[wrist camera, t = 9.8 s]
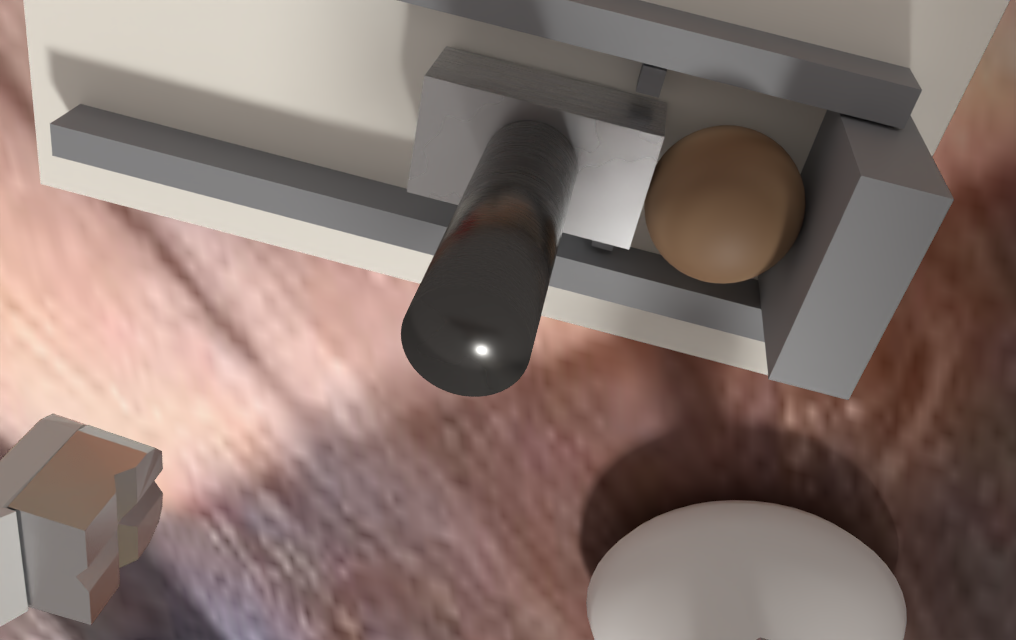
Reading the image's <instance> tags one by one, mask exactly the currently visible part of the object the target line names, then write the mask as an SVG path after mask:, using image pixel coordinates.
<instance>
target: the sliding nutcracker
mask: <svg viewBox="0 0 1016 640" xmlns="http://www.w3.org/2000/svg"><path fill="white" fill-rule="evenodd" d="M1009 1H1010V0H24V11H25V21H26V32H27V43H28V53H29V64H30V75H31V85H32V96H33V106H34V117H35V128H36V138H37V149H38V160H39V170H40V181H41V184H43V185H47V186H51V187H54V188H58V189H62V190H66V191H70V192H73V193H77V194H81V195H85V196H89V197H92V198H96V199H100V200H104V201H108V202H111V203H115V204H119V205H123V206H127V207H130V208H134V209H138V210H142V211H146V212H149V213H153V214H157V215H161V216H165V217H168V218H172V219H176V220H180V221H184V222H187V223H191V224H195V225H199V226H203V227H206V228H210V229H214V230H218V231H222V232H226V233H229V234H233V235H237V236H241V237H245V238H248V239H252V240H256V241H260V242H264V243H267V244H271V245H275V246H279V247H283V248H286V249H290V250H294V251H298V252H302V253H305V254H309V255H313V256H317V257H321V258H324V259H328V260H332V261H336V262H340V263H343V264H347V265H351V266H355V267H359V268H362V269H366V270H370V271H374V272H378V273H381V274H385V275H389V276H393V277H397V278H400V279H404V280H408V281H412V282H416V283H419V284H420V283H421V281H422V279H423V277H424V275H425V273H426V271H427V269H428V267H429V265H430V263H431V261H432V258H433V256H434V254H435V252H436V250H437V248H438V246H439V244H440V242H441V240H442V238H443V235H444V233H445V231H446V229H447V227H448V225H449V223H450V221H451V219H452V217H453V215H454V213H455V210H456V208H457V206H458V205H456V204H452V203H448V202H444V201H440V200H436V199H433V198H429V197H425V196H421V195H417V194H413V193H409V192H407V186H408V179H409V173H410V166H411V160H412V153H413V147H414V140H415V134H416V127H417V120H418V114H419V107H420V101H421V94H422V88H423V81H424V76H425V74H426V73H427V71H428V70H429V69H430V67H431V66H432V65H433V63H434V62H435V61H436V59H437V58H438V57H439V55H440V54H441V52H442V51H443V50H444V48H445V47H446V46H448V47H451V48H455V49H459V50H463V51H467V52H471V53H475V54H479V55H483V56H487V57H491V58H495V59H498V60H502V61H506V62H510V63H514V64H518V65H522V66H526V67H530V68H534V69H538V70H542V71H545V72H549V73H553V74H557V75H561V76H565V77H569V78H573V79H577V80H581V81H585V82H589V83H592V84H596V85H600V86H604V87H608V88H612V89H616V90H620V91H624V92H628V93H632V94H636V95H639V96H643V97H647V98H651V99H655V100H659V101H663V102H667V113H666V126H665V138H664V141H663V144H662V147H661V150H660V153H659V157H658V160H657V163H658V161H659V160H660V158H661V157H662V156H663V154H664V153H665V152H666V151H667V150H668V149H669V148H670V147H671V146H673V145H674V144H675V143H676V142H677V141H679V140H680V139H682V138H684V137H685V136H687V135H689V134H691V133H693V132H695V131H698V130H701V129H704V128H708V127H712V126H720V125H735V126H742V127H746V128H750V129H753V130H756V131H758V132H761V133H763V134H765V135H766V136H768V137H770V138H771V139H773V140H774V141H775V142H777V143H778V144H779V145H780V146H782V147H783V148H784V150H785V151H786V152H787V153H788V154H789V155H790V157H791V158H792V160H793V161H794V163H795V164H796V166H797V168H798V170H799V173H800V175H801V178H802V181H803V185H804V190H805V214H804V219H803V223H802V227H801V230H800V232H799V235H798V237H797V239H796V240H795V242H794V244H793V245H792V247H791V248H790V250H789V251H788V253H787V254H786V255H785V256H784V257H783V258H782V259H781V260H780V261H779V262H778V263H777V264H776V265H774V266H773V267H772V268H770V269H769V270H767V271H765V272H764V273H762V274H760V275H758V276H756V277H753V278H751V279H748V280H745V281H740V282H735V283H709V282H705V281H701V280H698V279H695V278H692V277H690V276H687V275H686V274H684V273H682V272H680V271H679V270H677V269H676V268H675V267H673V266H672V265H671V264H670V263H669V262H668V261H667V260H665V259H664V257H663V256H662V255H661V254H660V252H659V251H658V250H657V248H656V247H655V245H654V243H653V241H652V239H651V237H650V234H649V232H648V229H647V225H646V221H645V211H644V204H643V207H642V210H641V214H640V217H639V220H638V223H637V226H636V229H635V233H634V236H633V239H632V242H631V245H630V248H629V250H628V249H625V248H621V247H617V246H613V245H609V244H605V243H602V242H598V241H594V240H590V239H586V238H582V237H579V236H575V235H571V234H567V233H563V232H562V236H561V240H560V244H559V248H558V251H557V255H556V259H555V263H554V267H553V271H552V275H551V279H550V282H549V286H548V290H547V294H546V298H545V302H544V306H543V310H542V314H541V316H545V317H549V318H552V319H556V320H560V321H564V322H568V323H571V324H575V325H579V326H583V327H587V328H590V329H594V330H598V331H602V332H606V333H609V334H613V335H617V336H621V337H625V338H629V339H632V340H636V341H640V342H644V343H648V344H651V345H655V346H659V347H663V348H667V349H670V350H674V351H678V352H682V353H686V354H689V355H693V356H697V357H701V358H705V359H708V360H712V361H716V362H720V363H724V364H727V365H731V366H735V367H739V368H743V369H746V370H750V371H754V372H758V373H762V374H765V375H768V379H770V380H774V381H778V382H782V383H785V384H789V385H793V386H797V387H801V388H804V389H808V390H812V391H816V392H820V393H823V394H827V395H831V396H835V397H839V398H842V399H846V400H849V398H850V396H851V394H852V392H853V390H854V388H855V386H856V385H857V383H858V381H859V379H860V377H861V375H862V373H863V371H864V369H865V367H866V366H867V364H868V362H869V360H870V358H871V356H872V354H873V352H874V350H875V348H876V347H877V345H878V343H879V341H880V339H881V337H882V335H883V333H884V331H885V329H886V328H887V326H888V324H889V322H890V320H891V318H892V316H893V314H894V312H895V310H896V308H897V307H898V305H899V303H900V301H901V299H902V297H903V295H904V293H905V291H906V289H907V288H908V286H909V284H910V282H911V280H912V278H913V276H914V274H915V272H916V270H917V269H918V267H919V265H920V263H921V261H922V259H923V257H924V255H925V253H926V251H927V250H928V248H929V246H930V244H931V242H932V240H933V238H934V236H935V234H936V232H937V231H938V229H939V227H940V225H941V223H942V221H943V219H944V217H945V215H946V213H947V211H948V210H949V208H950V206H951V204H952V202H953V200H954V199H953V197H952V195H951V193H950V191H949V189H948V187H947V185H946V183H945V181H944V179H943V177H942V175H941V173H940V171H939V169H938V168H937V166H936V164H935V162H934V160H933V158H932V156H933V154H934V152H935V150H936V148H937V146H938V144H939V142H940V140H941V138H942V136H943V134H944V132H945V130H946V128H947V126H948V124H949V122H950V120H951V118H952V116H953V114H954V112H955V110H956V108H957V106H958V104H959V102H960V100H961V98H962V96H963V94H964V92H965V90H966V88H967V86H968V84H969V82H970V80H971V78H972V76H973V74H974V72H975V70H976V68H977V66H978V64H979V62H980V60H981V58H982V56H983V54H984V52H985V50H986V48H987V46H988V44H989V42H990V40H991V38H992V36H993V34H994V32H995V30H996V28H997V26H998V24H999V22H1000V20H1001V17H1002V15H1003V13H1004V11H1005V9H1006V7H1007V5H1008V3H1009ZM657 163H656V164H657Z"/></svg>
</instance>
